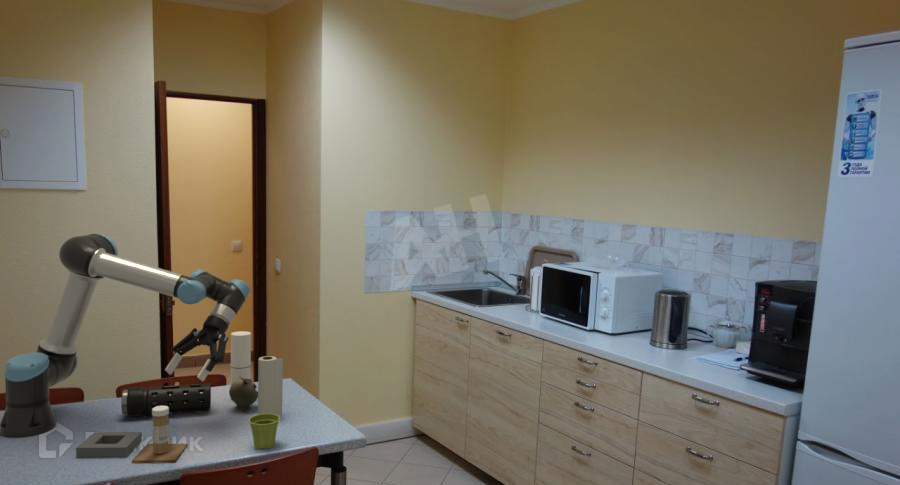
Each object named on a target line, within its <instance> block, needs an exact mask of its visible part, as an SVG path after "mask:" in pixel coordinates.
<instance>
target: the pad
mask: <svg viewBox="0 0 900 485" xmlns="http://www.w3.org/2000/svg"><path fill="white" fill-rule="evenodd" d="M187 446H189V444H188V443H169V451H168V452H166V453H163V454H155V453H153V443H146V445H144V446H143V448H142V449H141V450H140V451H139V452H138V453H137V455H135V456H134V457H133V459H132V460H131V463H132V464H161V463H162V464H168V463H169V464H170V463H171V464H173V463H176V462H177V461H178V460H179V459H180V458H181V456H182V455H183V454H184V452H185V450H186V449H187V448H188V447H187Z"/></svg>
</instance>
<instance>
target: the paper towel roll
mask: <svg viewBox="0 0 900 485" xmlns="http://www.w3.org/2000/svg"><path fill="white" fill-rule="evenodd" d="M257 360H258V362H257V363H258V368H257V369H258V370H257V371H258V375H257V376H258V377H257V380H258V381H257V383H258V384H257V391H258V398H257V415H258V414H267V413H268V414H276V415H278V416H280V418H282V417H283V386H284V384H283V380H284V379H283V370H284V369H283V367H284V365H283V364H284V363H283V362H284V359H283V357H280V358H277V357H276V356H274V355H273V356H272V355H271V356H270V355H267V356H265V355H264V356H261V357H259V358H258V359H257Z"/></svg>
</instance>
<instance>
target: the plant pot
mask: <svg viewBox="0 0 900 485" xmlns="http://www.w3.org/2000/svg"><path fill="white" fill-rule="evenodd" d="M280 420H281V417H280V416H278V415H276V414H268V413H267V414H258V413H257V414H254V415H252V416H251V417H249V418H248V423H249V424H250V427H251V432H252V440H253V445H254V446H253V447H254V448H256V449H258V450H262V449H266V450H267V449H270V448H273V447H274V446H275V444H276V439H277V438H276V435H277V429H278V425H279V422H280Z"/></svg>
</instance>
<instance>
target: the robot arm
mask: <svg viewBox="0 0 900 485" xmlns="http://www.w3.org/2000/svg"><path fill="white" fill-rule="evenodd" d="M59 249H60V250H59V251H58V252H59V253H58V254H59V261H60V262H61V264H62V265H63V267H64V268H66V270H67V271H68V273H69V275H68V279H67V281H66V283H65V287H64V289H63V292H62V295H61V298H60V300H59V304H58V306H57V309H56V312H55V314H54V318H53V320H52V323H51V325H50V328H49V331H48V334H47V337H46V338H45V339H41V340H40V342H39V344H38V346H37V349H36V351H35V352H26V353H23V354H19V355H16V356H13V357H11V358H10V359H9V360H7V362H6V364H5V370H4V379H5V380H4V381H5V382H4V383H5V384H4V385H5V410H4V413H3V416H2V418H1V421H0V435H2V436H4V437H7V438H8V437H9V438H17V437H18V438H21V437H29V436H35V435H40V434H43V433H45V432H48V431H50V430H52V429H54V428H55V427H56V426H55V425H57V417H56V416H55V413H54V410H53V407H52V405H51V403H50V388H51V387H53V386H55V385H57V384H59V383H61V382H63V381H65V380H66V379H68V378H69V377H70V376H71V375H72V374H74V372H75V371H76V369H77V367H78V363H79V359H78V356H77V352H78V350H79V349H78V347H77V346H76V342H77V339H78V336H79V333H80V330H81V328H82V325H83V322H84V319H85V316H86V314H87V311H88V309H89V307H90V306H89V305H90V303H91V300H92V297H93V294H94V292H95V289H96V286H97V283H98V281H100V280H102V279H104V278H106V279H110V280H113V281H116V282H121V283H124V284H126V285H127V284H128V285H131V286H134V287H138V288H141V289H143V290H147V291H148V290H149V291H152V292H156V293H159V294H162V295H166V296H169V297H172V298H176V299H178V300H180V301H181V302H182V303H183V304H186V305H194V304H195V305H196V304H199V303H200V302H201V301H203V300H205V299H206V298H208V299H210V300H212V301H214V302H216V304H215V305H214V307H213V308H212V310H211V311H210V313H209V315H208V316H207V317H206V319H205V320H204V322H203V324H202V329H200V330H199V329H197V328H195V327H194V328H193V329H192V330H191V331H190V333H188V334H187V335H186V336H184V337H183V338H182V339H181V340H180V341H178V343H176V344H175V345H174V346H173V347H171V350H172V352H173V353H174V354H173V355H172V357H171V358H170V359H169V363H168V364H167V365H166V367H165V369H164V371H165V372H167V374H168V375H170V376H171V375H172V374H173V373H174V372H175V369H176V368H177V367H178V365H179V364H180V362H181V360H182V359H183V355H185V354H186V353H188V352H190V351H191V350H193V349H195V348H197V347H198V346H207V347H209V352H210V353H209V354H210V357H209V358H207V360H206V362H205V363H204V365H203V366H202V368H201V370H200V371H199V373H198V375H196V377H197V379H199V381H200V382H204V381H205V380H206V378H207V376H208V375H209V374H210V373H211V371H213V369H214V368H215V366H216V365H217V364H218V363H221V364H222V363H224V361H225V354H226V347H227V342H228V341H229V338H230V337H229V336H228V335H227V334H226V332H227V330H228V329H229V326H230V325H231V324H232V322H233V320H234V319H235V317H236V316H237V315H238V312H239V311H240V310H241V308H242V307H243V305H244V303H245V302H246V300H247V298H248V296H249V294H250V293H251V288H250V286H249V285H248V284H247V283H246V282H245V281H243V280H241V279H238V278H234V279H231V281H226V280H223V279H222V278H219V277H218V276H215V275H214V274H211V273H209V272H208V271H205V270H203V269H200V268H196V269H195V270H194V271H193V272H191V274H190V276H187V275H183V274H181V273H178V272H174V271H170V270H167V269H163V268H161V267H157V266H154V265H150V264H147V263H143V262H139V261H135V260H132V259H129V258H125V257H123V256H119V255H118V253H119V252H118V246H117V245H116V243H115V241H114V240H113V239H112V238H111V237H110V236H108V235H107V234H102V233H91V234H85V235H77V236H73V237H71V238H69V239H67V240H66V241H64V243H62V245H61V246H60V248H59ZM53 427H54V428H53Z"/></svg>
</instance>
